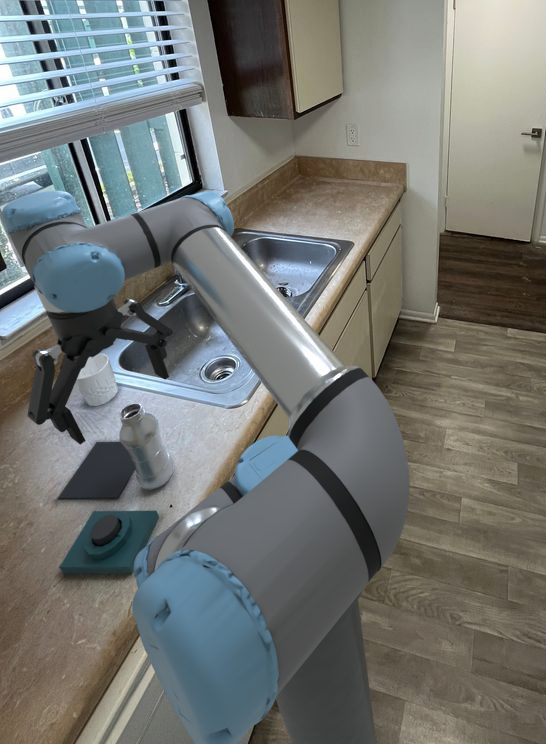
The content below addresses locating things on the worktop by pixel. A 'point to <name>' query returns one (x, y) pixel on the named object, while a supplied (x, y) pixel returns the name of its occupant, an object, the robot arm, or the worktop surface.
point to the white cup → (97, 381)
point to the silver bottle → (145, 446)
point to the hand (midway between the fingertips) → (123, 404)
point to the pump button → (105, 530)
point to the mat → (101, 473)
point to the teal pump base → (110, 545)
